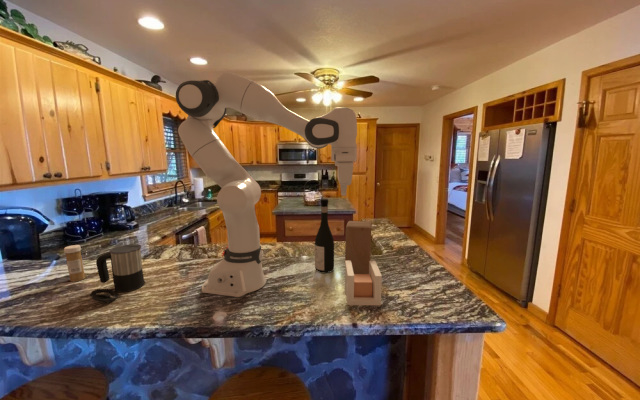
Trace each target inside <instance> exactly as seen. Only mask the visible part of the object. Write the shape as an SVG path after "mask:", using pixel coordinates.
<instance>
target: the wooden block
mask: <svg viewBox="0 0 640 400" xmlns="http://www.w3.org/2000/svg"><path fill="white" fill-rule="evenodd" d="M372 228H373V227H372V222H371V221H366V220H365V221H358V220H348V222H347V224H346V226H345V239H344V240H345V244H344V245H345V248H344V249H345V250H344V253H345V254H344V256H345V257H344V260H345V261H351V263H352V268H353V272H354V274H369V261H372V259H371V255H372V253H371V252H372ZM345 261H344V262H345Z"/></svg>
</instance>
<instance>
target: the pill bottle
mask: <svg viewBox="0 0 640 400" xmlns="http://www.w3.org/2000/svg"><path fill="white" fill-rule="evenodd" d="M63 250H64V251H63V252H64V253H65V259H66V265H67V270H68V274H69V281H70V282H72V283H73V282H80V281H82V280H84V279H85V278H86V275H85V266H84V262H83V257H82V252H81V250H82V248H81V245H80V244H75V245H68V246H65V247H64V248H63Z"/></svg>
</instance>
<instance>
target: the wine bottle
mask: <svg viewBox="0 0 640 400" xmlns="http://www.w3.org/2000/svg"><path fill="white" fill-rule="evenodd" d="M328 205H329V199H328V198H321V199H320V225H319V228H318V230H317V233H316V236H315V240H314V269H315V271H316V272H319V273H322V274H328V273H331V272H332V271H334V269H335V238H334V237H333V234H332V231H331V229H330V226H329V220H328V219H329V217H328V216H329V215H328V214H329V213H328V212H329V210H328V207H329V206H328Z"/></svg>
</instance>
